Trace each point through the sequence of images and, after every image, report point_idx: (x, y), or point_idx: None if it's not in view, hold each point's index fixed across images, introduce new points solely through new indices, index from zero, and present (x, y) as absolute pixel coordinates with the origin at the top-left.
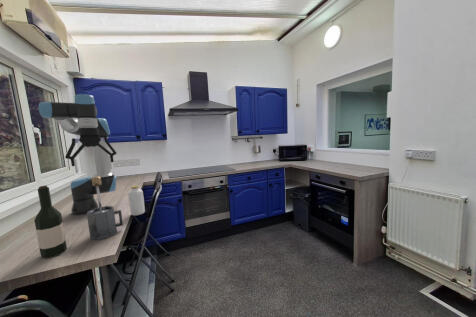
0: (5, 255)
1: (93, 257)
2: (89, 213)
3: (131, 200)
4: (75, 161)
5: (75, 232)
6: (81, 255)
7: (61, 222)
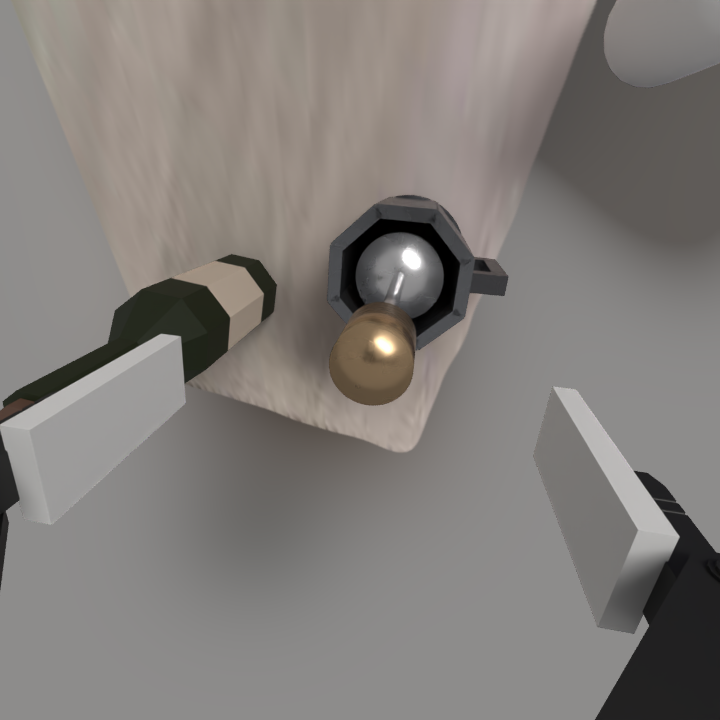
0: (77, 160)
1: (358, 430)
2: (340, 298)
3: (662, 34)
4: (72, 496)
5: (287, 96)
6: (326, 387)
7: (227, 331)
